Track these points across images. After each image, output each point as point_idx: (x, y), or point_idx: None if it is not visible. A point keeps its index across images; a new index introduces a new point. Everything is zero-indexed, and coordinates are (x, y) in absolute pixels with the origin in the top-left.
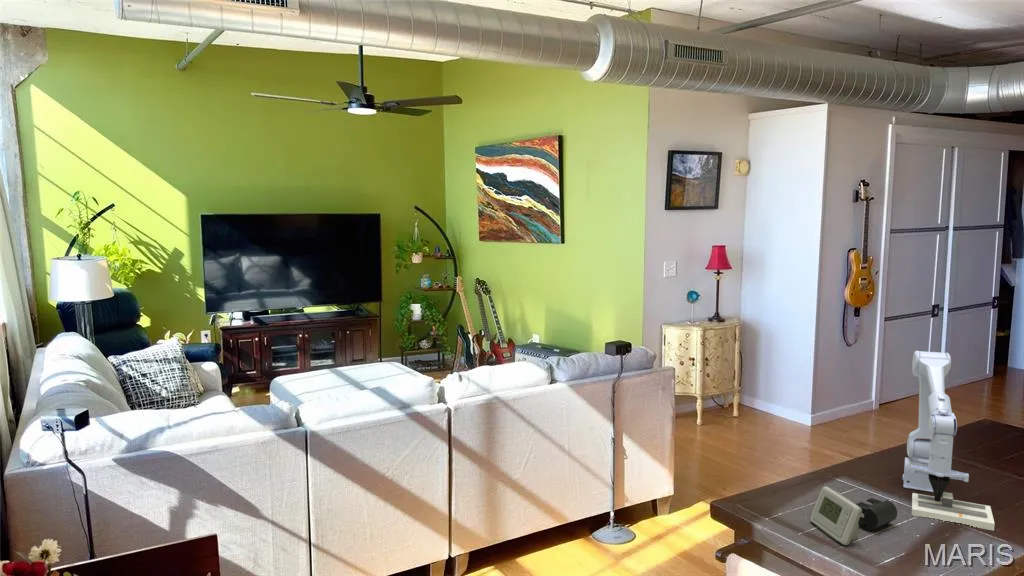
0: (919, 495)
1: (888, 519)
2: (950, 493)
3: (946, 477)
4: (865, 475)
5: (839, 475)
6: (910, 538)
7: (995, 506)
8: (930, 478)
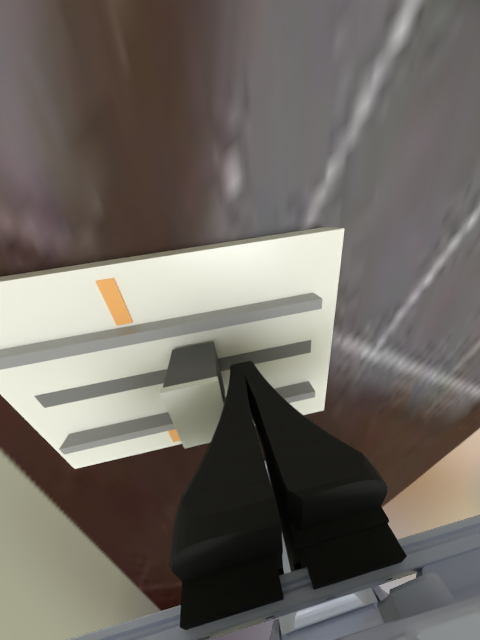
0: (309, 391)
1: None
2: (192, 443)
3: (215, 611)
4: (402, 449)
5: (465, 416)
6: None
7: (99, 484)
8: (370, 498)
